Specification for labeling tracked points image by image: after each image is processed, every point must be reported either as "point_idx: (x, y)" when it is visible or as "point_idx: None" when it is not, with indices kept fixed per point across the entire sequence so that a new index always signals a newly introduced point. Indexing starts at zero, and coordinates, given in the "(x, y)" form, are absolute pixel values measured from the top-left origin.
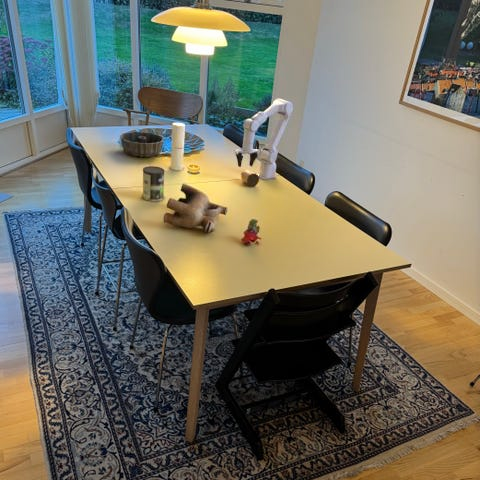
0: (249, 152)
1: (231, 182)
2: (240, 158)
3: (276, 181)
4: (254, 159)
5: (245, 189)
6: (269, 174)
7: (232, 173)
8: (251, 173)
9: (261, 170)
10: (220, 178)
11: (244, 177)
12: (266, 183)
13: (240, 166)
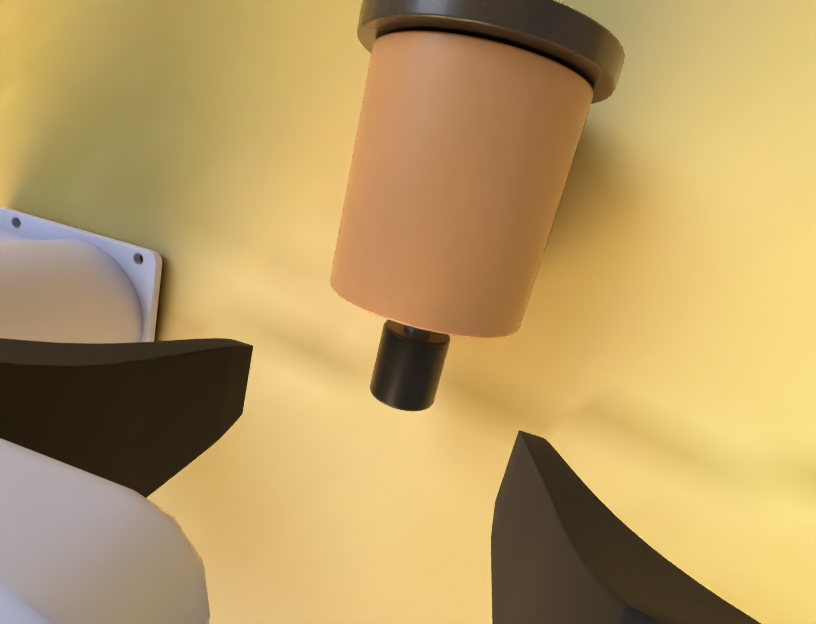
0: (88, 621)
1: (647, 360)
2: (710, 596)
3: (48, 120)
4: (69, 349)
5: (684, 37)
6: (27, 240)
7: (379, 565)
8: (483, 89)
9: (70, 331)
10: (671, 536)
11: (553, 219)
12: (207, 115)
13: (531, 437)
